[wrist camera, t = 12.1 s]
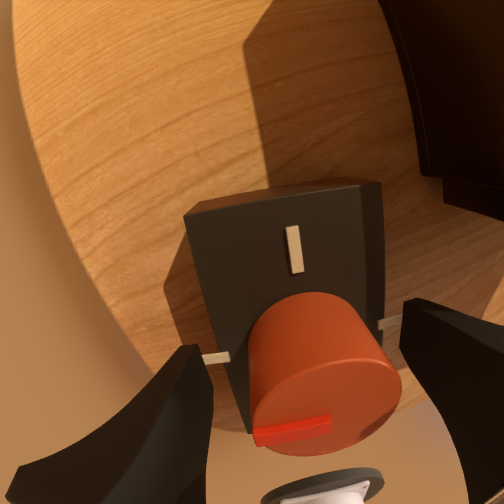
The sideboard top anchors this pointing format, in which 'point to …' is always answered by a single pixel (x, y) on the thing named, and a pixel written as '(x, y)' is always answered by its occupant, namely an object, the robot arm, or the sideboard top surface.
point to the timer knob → (317, 377)
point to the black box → (454, 84)
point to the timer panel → (286, 260)
